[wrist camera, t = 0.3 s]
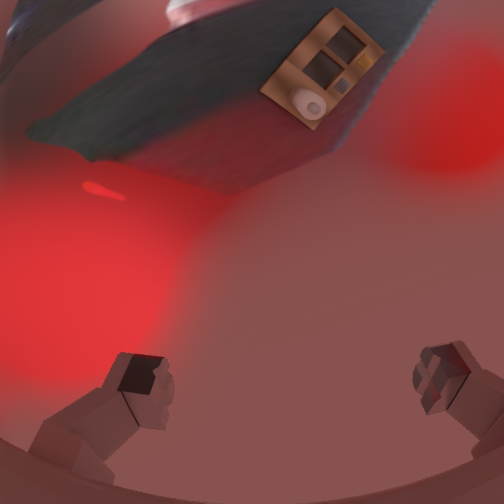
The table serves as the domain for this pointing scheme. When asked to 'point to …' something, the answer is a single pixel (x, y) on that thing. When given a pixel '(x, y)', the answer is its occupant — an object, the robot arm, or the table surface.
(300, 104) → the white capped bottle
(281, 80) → the board
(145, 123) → the table surface
